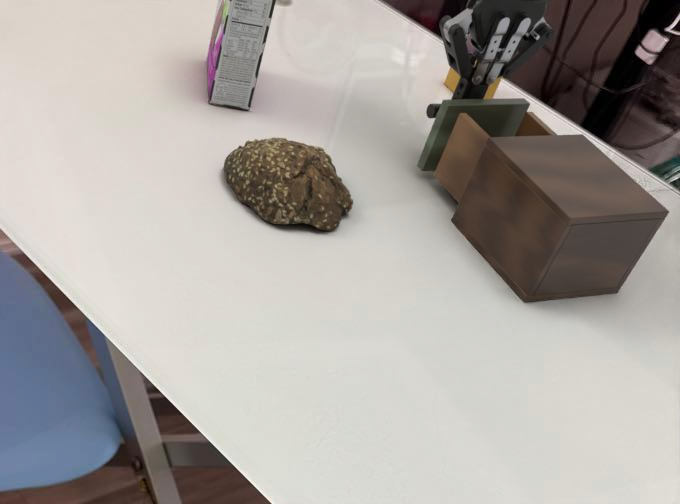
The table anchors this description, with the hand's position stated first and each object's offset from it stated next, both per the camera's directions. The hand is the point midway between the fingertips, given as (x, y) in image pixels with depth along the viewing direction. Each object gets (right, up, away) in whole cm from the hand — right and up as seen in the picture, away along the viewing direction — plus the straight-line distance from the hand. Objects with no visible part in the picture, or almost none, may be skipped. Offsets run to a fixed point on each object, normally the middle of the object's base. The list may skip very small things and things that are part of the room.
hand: (460, 114), depth 103 cm
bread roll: (-19, -11, -6) cm, 23 cm away
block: (+6, +10, +17) cm, 20 cm away
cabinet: (+5, -17, -6) cm, 18 cm away
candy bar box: (-24, +6, +8) cm, 26 cm away
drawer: (+2, -7, 0) cm, 8 cm away
